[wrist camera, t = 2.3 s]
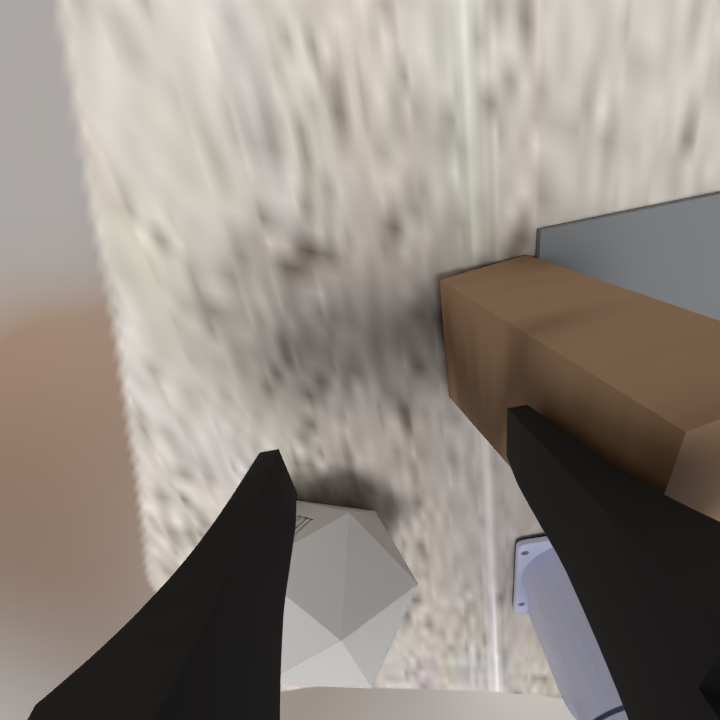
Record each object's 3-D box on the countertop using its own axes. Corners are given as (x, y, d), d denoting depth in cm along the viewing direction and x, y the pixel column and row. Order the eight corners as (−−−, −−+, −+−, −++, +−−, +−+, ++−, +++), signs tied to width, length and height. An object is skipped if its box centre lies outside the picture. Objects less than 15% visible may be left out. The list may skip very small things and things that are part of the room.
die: (333, 438, 21) (187, 608, 15) (466, 541, 20) (364, 780, 14) (310, 488, 28) (201, 622, 22) (409, 570, 26) (322, 740, 20)
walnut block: (521, 371, 19) (748, 546, 10) (448, 396, 18) (626, 601, 10) (525, 254, 16) (854, 367, 7) (439, 279, 15) (685, 432, 7)
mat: (734, 364, 19) (740, 367, 19) (527, 401, 20) (530, 405, 20) (809, 173, 15) (817, 174, 14) (537, 228, 15) (540, 230, 15)
